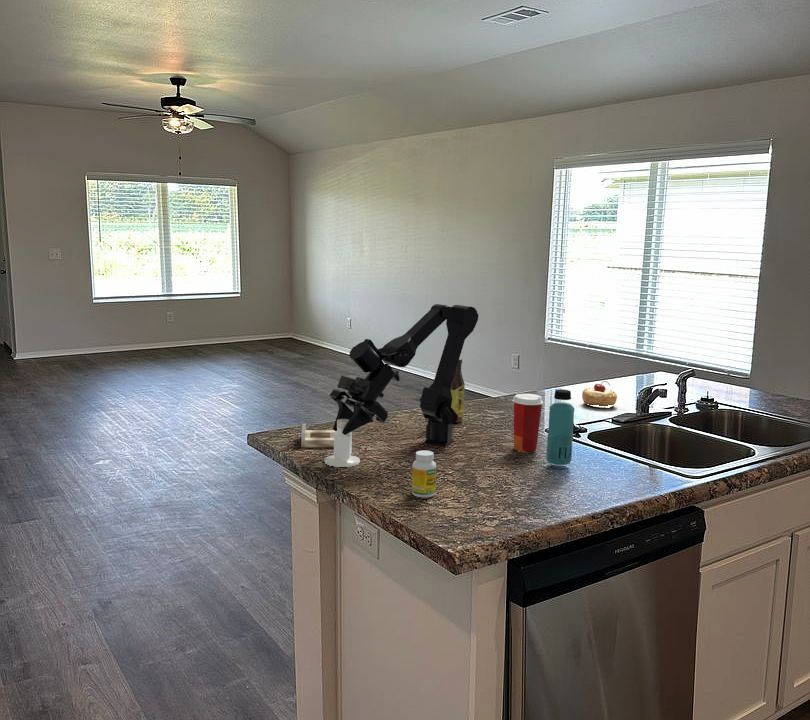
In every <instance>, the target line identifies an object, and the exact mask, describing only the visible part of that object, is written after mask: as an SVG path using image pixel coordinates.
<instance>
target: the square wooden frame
mask: <svg viewBox="0 0 810 720" xmlns="http://www.w3.org/2000/svg"><path fill="white" fill-rule="evenodd" d="M336 432H337V431H334V430H333V429H331V430H330V429H326V430H325V429H318V430H317V429H316V430H312V429H310V430H309V429H307V423H302V424H301V434H300V435H301V437H300V439H301V440H300V441H301V444H300V445H301V446H300V447H301V448H334V435H335V433H336Z"/></svg>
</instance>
